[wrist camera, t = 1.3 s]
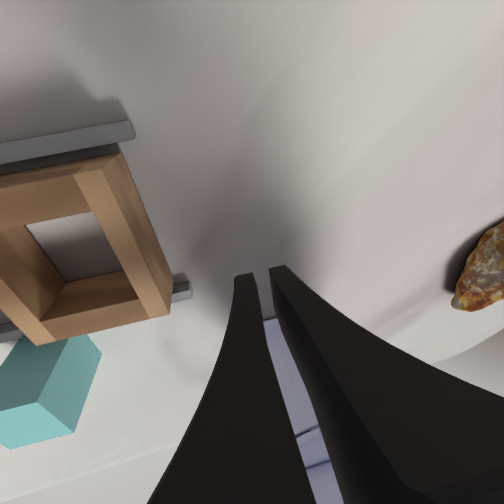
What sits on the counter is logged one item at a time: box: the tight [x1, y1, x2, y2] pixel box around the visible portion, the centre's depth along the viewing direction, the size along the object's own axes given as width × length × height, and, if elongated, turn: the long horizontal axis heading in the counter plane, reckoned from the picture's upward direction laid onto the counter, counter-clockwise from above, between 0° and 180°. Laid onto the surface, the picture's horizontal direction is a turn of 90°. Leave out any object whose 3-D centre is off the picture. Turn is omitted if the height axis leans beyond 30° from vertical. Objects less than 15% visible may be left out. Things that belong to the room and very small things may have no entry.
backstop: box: [0, 120, 192, 343], centre depth 15 cm, size 12×16×4 cm
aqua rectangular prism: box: [0, 334, 102, 449], centre depth 18 cm, size 4×4×6 cm
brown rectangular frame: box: [0, 152, 174, 346], centre depth 15 cm, size 9×8×4 cm
